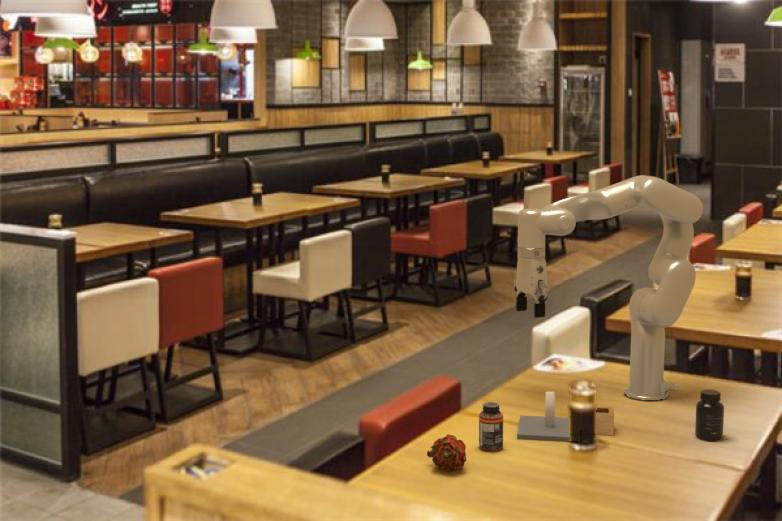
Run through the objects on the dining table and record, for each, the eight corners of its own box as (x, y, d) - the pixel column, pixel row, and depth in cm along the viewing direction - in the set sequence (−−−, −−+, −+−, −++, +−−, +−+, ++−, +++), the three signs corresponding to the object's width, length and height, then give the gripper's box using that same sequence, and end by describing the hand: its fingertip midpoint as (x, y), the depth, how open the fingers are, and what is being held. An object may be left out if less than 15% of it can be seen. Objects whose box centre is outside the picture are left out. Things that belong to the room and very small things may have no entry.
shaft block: (580, 422, 269) (581, 385, 267) (581, 442, 253) (582, 403, 252) (520, 419, 271) (520, 383, 270) (517, 438, 256) (517, 400, 254)
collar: (612, 427, 265) (613, 407, 264) (613, 435, 258) (614, 414, 257) (587, 426, 266) (587, 406, 265) (587, 434, 259) (588, 413, 259)
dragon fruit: (452, 484, 230) (439, 473, 241) (481, 460, 231) (465, 450, 243) (430, 456, 228) (417, 446, 240) (458, 432, 230) (444, 423, 242)
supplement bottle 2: (690, 433, 259) (692, 388, 258) (716, 432, 260) (718, 387, 258) (700, 442, 253) (702, 396, 251) (727, 441, 253) (729, 395, 251)
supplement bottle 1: (486, 442, 253) (486, 399, 252) (507, 447, 250) (508, 403, 248) (474, 449, 248) (474, 405, 247) (495, 454, 245) (496, 409, 243)
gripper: (559, 256, 273) (558, 318, 276) (527, 248, 289) (526, 307, 292) (535, 258, 270) (534, 321, 273) (504, 250, 286) (503, 309, 289)
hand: (530, 313), depth 282 cm, fingers open, 9 cm apart
